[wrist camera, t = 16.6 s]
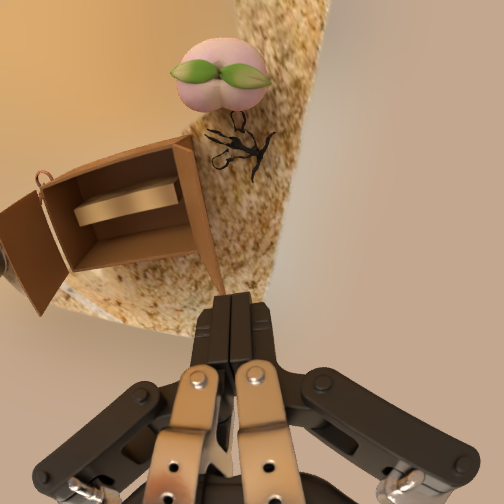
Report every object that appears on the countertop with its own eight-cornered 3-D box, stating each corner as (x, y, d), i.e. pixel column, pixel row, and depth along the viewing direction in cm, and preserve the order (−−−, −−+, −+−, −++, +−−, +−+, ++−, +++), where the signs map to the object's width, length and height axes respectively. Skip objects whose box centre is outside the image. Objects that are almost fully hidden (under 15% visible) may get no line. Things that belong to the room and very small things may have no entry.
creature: (199, 159, 33) (256, 183, 33) (182, 165, 28) (248, 193, 29) (221, 103, 30) (281, 126, 30) (207, 98, 25) (278, 125, 25)
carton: (190, 134, 31) (145, 160, 16) (208, 221, 36) (189, 306, 22) (68, 171, 31) (-13, 220, 16) (93, 243, 37) (36, 317, 22)
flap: (172, 144, 23) (175, 143, 23) (199, 255, 28) (202, 254, 29) (188, 151, 15) (193, 150, 16) (224, 303, 21) (228, 302, 21)
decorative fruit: (264, 48, 25) (274, 25, 17) (264, 111, 30) (274, 111, 21) (184, 51, 25) (163, 31, 16) (185, 113, 29) (163, 116, 20)
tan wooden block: (96, 211, 34) (79, 226, 30) (90, 196, 33) (73, 209, 29) (186, 190, 34) (178, 203, 29) (182, 172, 32) (173, 183, 28)
